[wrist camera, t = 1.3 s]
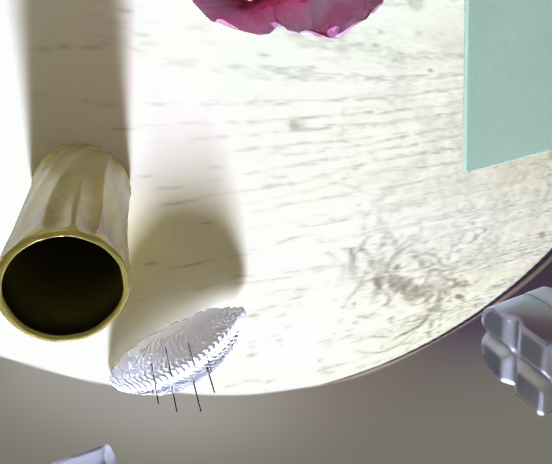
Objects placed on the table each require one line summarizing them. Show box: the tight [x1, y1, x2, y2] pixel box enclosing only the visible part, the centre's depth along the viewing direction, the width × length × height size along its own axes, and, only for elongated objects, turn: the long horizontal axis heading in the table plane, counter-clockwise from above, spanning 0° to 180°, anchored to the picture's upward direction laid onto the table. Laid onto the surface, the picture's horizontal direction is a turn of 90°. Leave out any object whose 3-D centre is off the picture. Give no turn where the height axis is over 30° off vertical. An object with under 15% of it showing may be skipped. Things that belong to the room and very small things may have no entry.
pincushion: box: [108, 307, 246, 411], centre depth 37 cm, size 12×6×6 cm, turn 115°
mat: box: [463, 0, 552, 173], centre depth 38 cm, size 22×13×1 cm, turn 9°
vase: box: [0, 144, 131, 342], centre depth 26 cm, size 6×6×14 cm
